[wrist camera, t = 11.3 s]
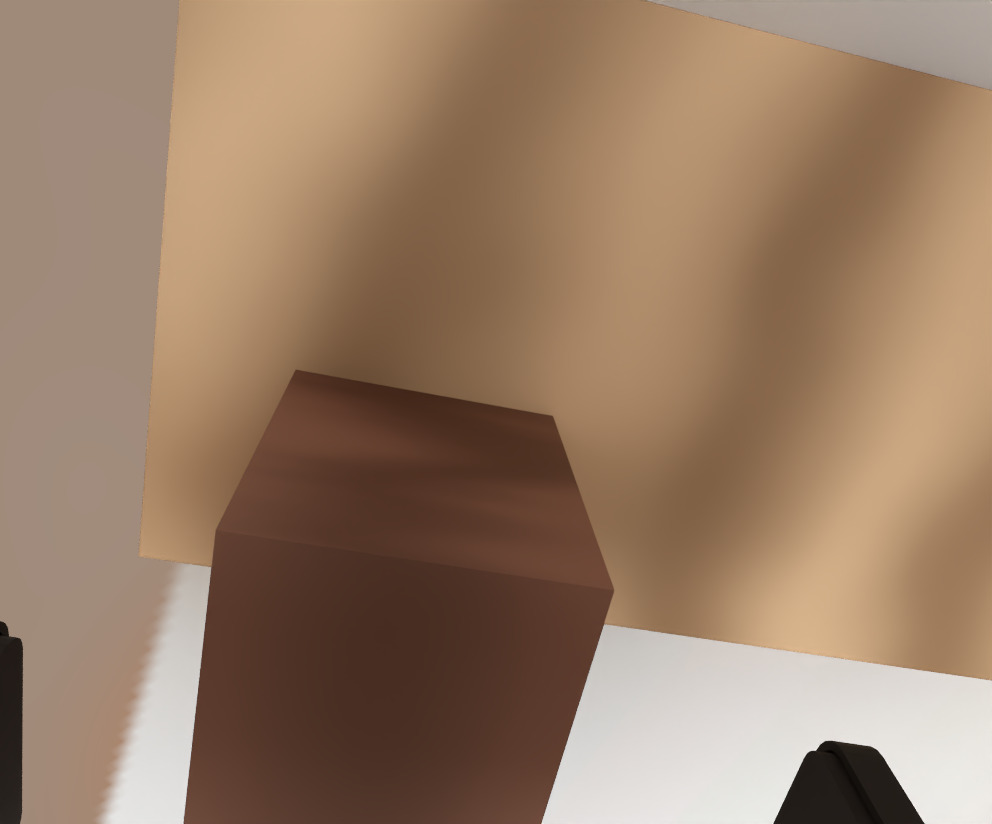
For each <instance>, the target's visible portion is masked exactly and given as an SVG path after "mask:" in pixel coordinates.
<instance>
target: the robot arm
mask: <svg viewBox="0 0 992 824" xmlns="http://www.w3.org/2000/svg"><path fill="white" fill-rule="evenodd" d="M22 686H23V646H22V642H21V639H19V638H16V637H9V634H8V628H7V626H6V624H5V623H4V622H1V621H0V824H20V821H21V815H22V697H23V695H22V694H23V688H22ZM773 824H924V822H923V821H922V819H921V817H920V816H919V814H918V813H917V811H916V809H915V808H914V806H913V805H912V803H911V801H910V800H909V798H908V797H907V795H906V793H905V792H904V790H903V789H902V787H901V785H900V784H899V782H898V780H897V779H896V777H895V776H894V774H893V772H892V771H891V769H890V768H889V766H888V764H887V763H886V761H885V760H884V758H883V757H882V755H881V754H880V753H879V752H878V751H877V750H876V749H874V748H873V747H871V746H864V745H857V744H850V743H843V742H836V741H825V742H823V743H822V744H820V746H819V747H818V749H817V750H816V751H810V752H809V753H807V755H806V756H805V758H804V759H803V762H802V764H801V766H800V768H799V770H798V772H797V774H796V777H795V779H794V781H793V783H792V785H791V787H790V789H789V791H788V794H787V796H786V798H785V800H784V802H783V804H782V806H781V809H780V811H779V813H778V815H777V817H776V819H775V821H774V823H773Z"/></svg>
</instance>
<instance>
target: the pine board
mask: <svg viewBox="0 0 992 824" xmlns="http://www.w3.org/2000/svg"><path fill="white" fill-rule="evenodd" d="M161 245H162V246H161V258H160V272H159V286H158V301H157V313H156V326H155V341H154V353H153V354H154V355H153V367H152V381H151V394H150V409H149V422H148V436H147V449H146V462H145V477H144V490H143V503H142V518H141V531H140V545H139V557H146V558H153V559H160V560H166V561H173V562H180V563H187V564H194V565H201V566H208V567H212V559H213V549H214V540H215V531H216V528H217V526H218V524H219V522H220V520H221V518H222V516H223V514H224V512H225V510H226V508H227V506H228V504H229V502H230V500H231V498H232V496H233V494H234V492H235V490H236V488H237V486H238V484H239V482H240V480H241V478H242V476H243V474H244V472H245V470H246V468H247V466H248V464H249V462H250V460H251V458H252V456H253V454H254V452H255V450H256V448H257V446H258V444H259V442H260V440H261V438H262V436H263V434H264V432H265V430H266V428H267V426H268V424H269V422H270V420H271V418H272V416H273V414H274V412H275V410H276V408H277V406H278V404H279V402H280V400H281V398H282V396H283V394H284V392H285V390H286V388H287V386H288V384H289V382H290V380H291V378H292V376H293V374H294V372H295V370H301V371H306V372H312V373H317V374H323V375H328V376H334V377H340V378H345V379H351V380H356V381H362V382H367V383H373V384H378V385H384V386H390V387H395V388H401V389H406V390H412V391H417V392H423V393H428V394H434V395H440V396H445V397H451V398H456V399H462V400H467V401H473V402H478V403H484V404H490V405H495V406H501V407H506V408H512V409H517V410H523V411H528V412H534V413H540V414H545V415H551V416H553V418H554V420H555V423H556V426H557V429H558V432H559V435H560V437H561V440H562V443H563V446H564V449H565V452H566V454H567V457H568V460H569V463H570V466H571V469H572V471H573V474H574V477H575V480H576V483H577V485H578V488H579V491H580V494H581V497H582V500H583V502H584V505H585V508H586V511H587V514H588V517H589V519H590V522H591V525H592V528H593V531H594V534H595V536H596V539H597V542H598V545H599V548H600V551H601V553H602V556H603V559H604V562H605V565H606V568H607V570H608V573H609V576H610V579H611V582H612V585H613V587H614V590H615V591H614V594H613V597H612V600H611V603H610V607H609V610H608V613H607V616H606V619H605V622H604V624H607V625H614V626H621V627H628V628H635V629H642V630H648V631H655V632H662V633H669V634H676V635H683V636H690V637H697V638H704V639H710V640H717V641H724V642H731V643H738V644H745V645H752V646H759V647H766V648H772V649H779V650H786V651H793V652H800V653H807V654H814V655H821V656H828V657H834V658H841V659H848V660H855V661H862V662H869V663H876V664H883V665H889V666H896V667H903V668H910V669H917V670H924V671H931V672H938V673H945V674H951V675H958V676H965V677H972V678H979V679H986V680H992V90H988V89H984V88H980V87H977V86H973V85H969V84H965V83H961V82H957V81H953V80H949V79H946V78H942V77H938V76H934V75H930V74H926V73H922V72H919V71H915V70H911V69H907V68H903V67H899V66H895V65H892V64H888V63H884V62H880V61H876V60H872V59H868V58H864V57H861V56H857V55H853V54H849V53H845V52H841V51H837V50H834V49H830V48H826V47H822V46H818V45H814V44H810V43H807V42H803V41H799V40H795V39H791V38H787V37H783V36H779V35H776V34H772V33H768V32H764V31H760V30H756V29H752V28H749V27H745V26H741V25H737V24H733V23H729V22H725V21H722V20H718V19H714V18H710V17H706V16H702V15H698V14H694V13H691V12H687V11H683V10H679V9H675V8H671V7H667V6H664V5H660V4H656V3H652V2H648V1H644V0H180V1H179V13H178V27H177V41H176V55H175V68H174V81H173V96H172V109H171V122H170V136H169V149H168V163H167V177H166V191H165V204H164V217H163V231H162V244H161Z"/></svg>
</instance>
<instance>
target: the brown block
mask: <svg viewBox="0 0 992 824" xmlns="http://www.w3.org/2000/svg"><path fill="white" fill-rule="evenodd" d="M614 591H615V590H614V587H613V585H612V582H611V579H610V576H609V573H608V570H607V568H606V565H605V562H604V559H603V556H602V553H601V551H600V548H599V545H598V542H597V539H596V536H595V534H594V531H593V528H592V525H591V522H590V519H589V517H588V514H587V511H586V508H585V505H584V502H583V500H582V497H581V494H580V491H579V488H578V485H577V483H576V480H575V477H574V474H573V471H572V469H571V466H570V463H569V460H568V457H567V454H566V452H565V449H564V446H563V443H562V440H561V437H560V435H559V432H558V429H557V426H556V423H555V420H554V418H553V416H551V415H545V414H540V413H534V412H528V411H523V410H517V409H512V408H506V407H501V406H495V405H490V404H484V403H478V402H473V401H467V400H462V399H456V398H451V397H445V396H440V395H434V394H428V393H423V392H417V391H412V390H406V389H401V388H395V387H390V386H384V385H378V384H373V383H367V382H362V381H356V380H351V379H345V378H340V377H334V376H328V375H323V374H317V373H312V372H306V371H301V370H295V372H294V374H293V376H292V378H291V380H290V382H289V384H288V386H287V388H286V390H285V392H284V394H283V396H282V398H281V400H280V402H279V404H278V406H277V408H276V410H275V412H274V414H273V416H272V418H271V420H270V422H269V424H268V426H267V428H266V430H265V432H264V434H263V436H262V438H261V440H260V442H259V444H258V446H257V448H256V450H255V452H254V454H253V456H252V458H251V460H250V462H249V464H248V466H247V468H246V470H245V472H244V474H243V476H242V478H241V480H240V482H239V484H238V486H237V488H236V490H235V492H234V494H233V496H232V498H231V500H230V502H229V504H228V506H227V508H226V510H225V512H224V514H223V516H222V518H221V520H220V522H219V524H218V526H217V528H216V531H215V540H214V549H213V559H212V568H211V577H210V586H209V595H208V604H207V613H206V623H205V632H204V641H203V650H202V659H201V668H200V678H199V687H198V696H197V705H196V714H195V723H194V732H193V742H192V751H191V760H190V769H189V778H188V787H187V797H186V806H185V815H184V824H541V823H542V819H543V816H544V813H545V810H546V807H547V804H548V800H549V797H550V794H551V791H552V788H553V785H554V781H555V778H556V775H557V772H558V769H559V765H560V762H561V759H562V756H563V753H564V750H565V746H566V743H567V740H568V737H569V734H570V730H571V727H572V724H573V721H574V718H575V715H576V711H577V708H578V705H579V702H580V699H581V696H582V692H583V689H584V686H585V683H586V680H587V676H588V673H589V670H590V667H591V664H592V661H593V657H594V654H595V651H596V648H597V645H598V641H599V638H600V635H601V632H602V629H603V626H604V622H605V619H606V616H607V613H608V610H609V607H610V603H611V600H612V597H613V594H614Z"/></svg>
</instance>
